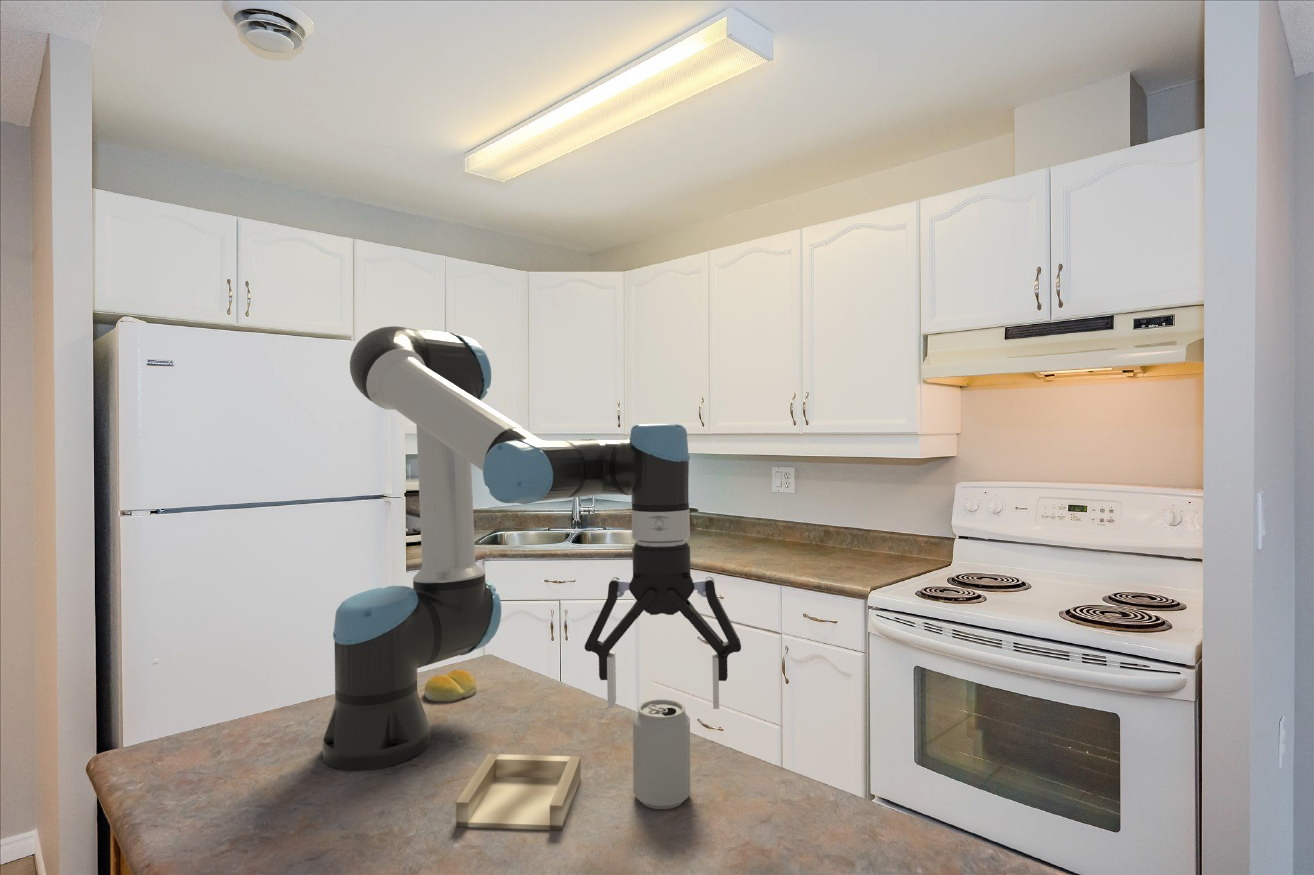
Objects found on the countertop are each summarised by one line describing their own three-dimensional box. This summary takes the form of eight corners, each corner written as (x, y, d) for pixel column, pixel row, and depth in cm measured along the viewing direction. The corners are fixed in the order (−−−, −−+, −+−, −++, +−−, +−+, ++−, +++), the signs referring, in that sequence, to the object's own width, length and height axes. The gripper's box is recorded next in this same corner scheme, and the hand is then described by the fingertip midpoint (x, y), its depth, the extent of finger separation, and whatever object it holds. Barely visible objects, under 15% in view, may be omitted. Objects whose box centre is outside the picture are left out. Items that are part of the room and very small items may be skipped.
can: (685, 815, 89) (685, 719, 89) (627, 809, 91) (626, 715, 91) (694, 786, 97) (694, 697, 97) (640, 781, 98) (639, 693, 98)
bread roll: (417, 695, 131) (417, 673, 131) (462, 683, 137) (462, 662, 137) (437, 707, 125) (437, 685, 125) (483, 695, 131) (483, 673, 131)
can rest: (456, 826, 87) (456, 802, 87) (488, 775, 100) (488, 753, 100) (562, 830, 86) (561, 805, 86) (580, 778, 99) (580, 756, 99)
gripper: (560, 546, 91) (563, 714, 91) (759, 545, 89) (762, 716, 89) (571, 538, 98) (574, 693, 98) (755, 537, 96) (757, 694, 96)
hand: (663, 704), depth 94 cm, fingers open, 13 cm apart
